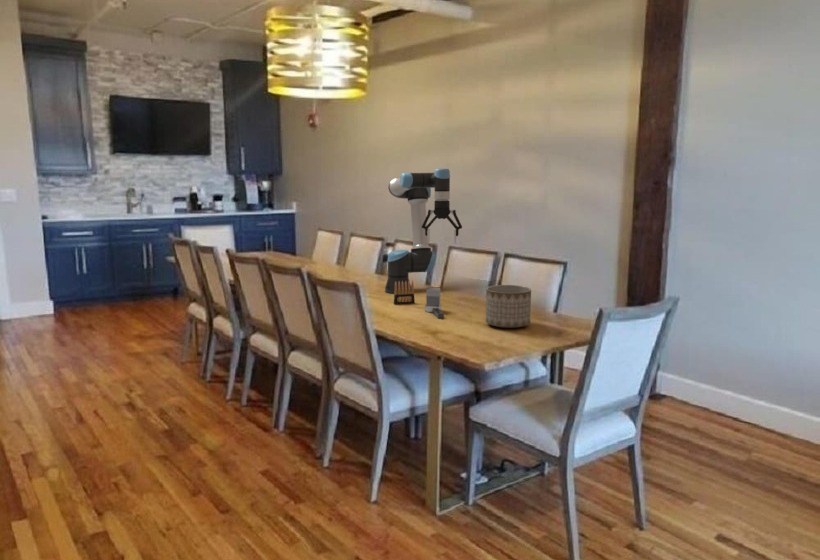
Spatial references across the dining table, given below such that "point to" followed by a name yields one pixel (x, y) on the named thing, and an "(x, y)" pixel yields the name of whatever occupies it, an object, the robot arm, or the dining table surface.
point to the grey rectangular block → (433, 297)
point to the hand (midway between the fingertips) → (441, 242)
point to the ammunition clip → (404, 293)
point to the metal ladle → (435, 311)
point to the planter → (508, 306)
